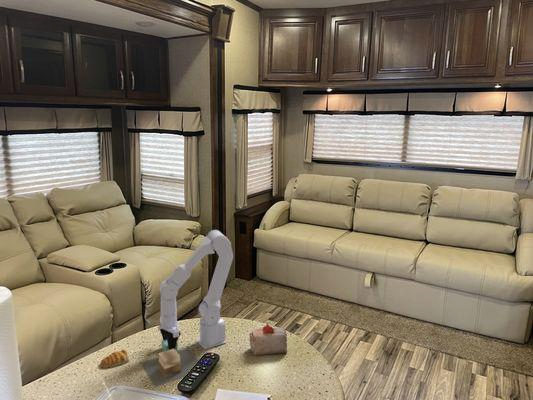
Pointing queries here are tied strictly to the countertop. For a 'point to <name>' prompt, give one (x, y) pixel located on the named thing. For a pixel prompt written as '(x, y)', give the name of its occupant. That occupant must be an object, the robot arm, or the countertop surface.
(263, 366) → the countertop surface
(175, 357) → the tower mid
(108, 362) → the pastry
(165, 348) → the teal block
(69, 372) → the countertop surface
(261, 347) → the food item
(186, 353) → the mat
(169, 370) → the tower base
